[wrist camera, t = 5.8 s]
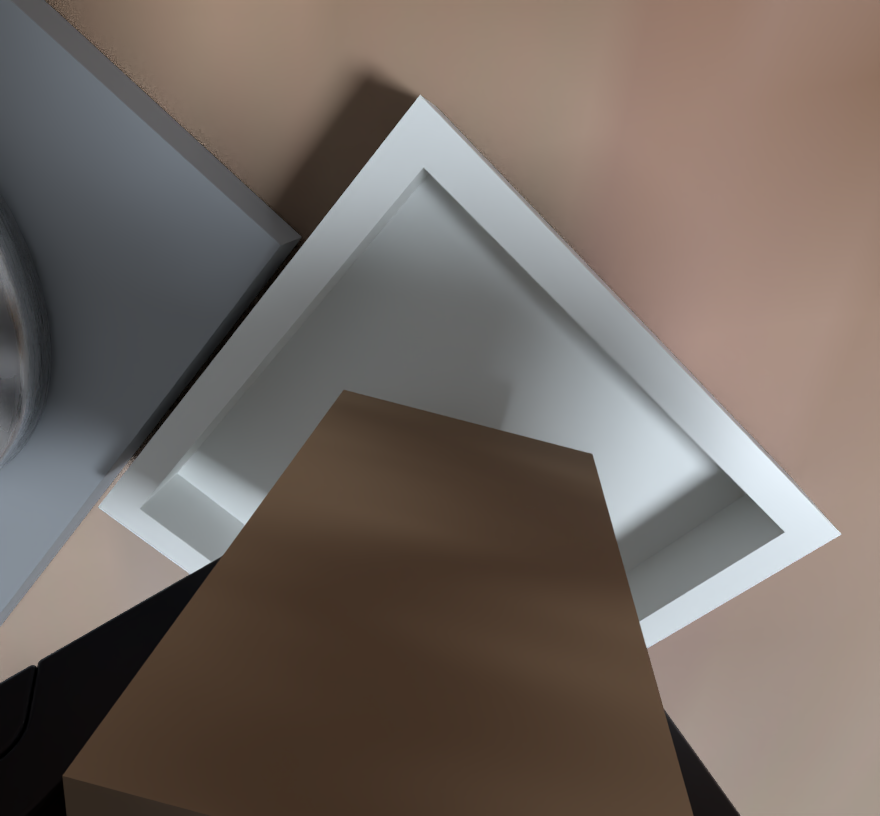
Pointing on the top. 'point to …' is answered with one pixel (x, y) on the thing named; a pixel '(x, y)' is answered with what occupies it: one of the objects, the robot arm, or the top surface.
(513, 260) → the tray
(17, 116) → the crank plate
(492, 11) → the top surface
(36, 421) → the crank
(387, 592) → the block
